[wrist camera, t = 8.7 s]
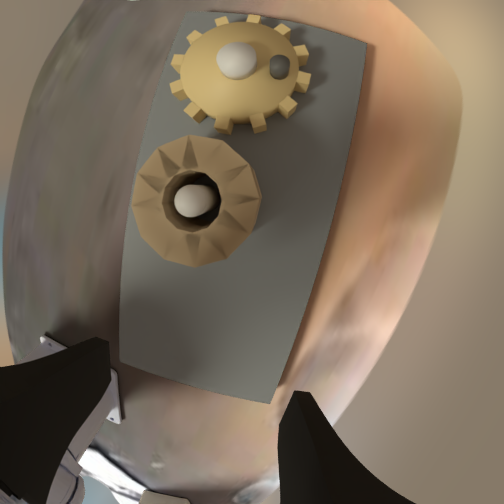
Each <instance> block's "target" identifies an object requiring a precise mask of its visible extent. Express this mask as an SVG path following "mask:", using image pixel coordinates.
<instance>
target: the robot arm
mask: <svg viewBox="0 0 504 504" xmlns="http://www.w3.org/2000/svg"><path fill="white" fill-rule="evenodd" d="M40 339H41V344H40V345H39V346H38V347H36V348H35V349H34V350H33V351H31V352H30V353H29V354H28V355H26V356H25V357H24V358H23V359H22V360H20V361H19V362H18V363H17V364H15V365H11V366H5V367H0V504H82V502H83V499H84V495H85V488H84V481H83V479H82V477H81V476H80V475H79V473H80V472H81V470H82V467H81V466H80V465H79V464H78V462H79V460H80V459H81V457H82V455H83V454H84V452H85V451H86V449H87V448H88V446H89V444H90V443H91V441H92V440H93V438H94V437H95V435H96V434H97V432H98V430H99V429H100V427H101V426H102V424H103V423H104V421H105V420H106V419H108V420H110V421H112V422H115V423H117V424H120V423H121V422H122V419H121V411H120V402H119V392H118V380H117V373H116V371H114V370H113V369H111V368H110V355H109V342H107V341H105V340H102V339H100V338H97V337H95V338H92V339H89V340H86V341H84V342H81V343H79V344H76V345H74V346H71V347H69V348H67V347H65V346H63V345H61V344H59V343H57V342H55V341H54V340H52V339H50V338H48V337H47V336H45V335H42V336H41V337H40ZM278 463H279V478H280V504H415V503H413V502H412V501H410V500H408V499H406V498H405V497H403V496H401V495H400V494H398V493H397V492H395V491H393V490H392V489H391V488H389V487H388V486H387V485H385V484H384V483H383V482H381V481H380V480H379V479H377V478H376V477H375V476H374V475H373V474H372V473H371V472H370V471H369V470H367V469H366V468H365V467H364V466H363V465H362V464H361V463H360V462H359V461H358V460H357V458H356V457H355V456H354V455H353V454H352V453H351V452H350V451H349V449H348V448H347V447H346V446H345V444H344V443H343V442H342V440H341V439H340V438H339V437H338V435H337V434H336V432H335V431H334V429H333V428H332V426H331V425H330V423H329V422H328V420H327V419H326V417H325V416H324V414H323V412H322V411H321V409H320V408H319V406H318V404H317V403H316V401H315V399H314V398H313V396H312V395H311V393H310V392H303V391H295V390H294V392H293V395H292V397H291V399H290V402H289V404H288V406H287V408H286V411H285V413H284V415H283V417H282V419H281V422H280V424H279V433H278Z"/></svg>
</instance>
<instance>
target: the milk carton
mask: <svg viewBox="0 0 504 504" xmlns="http://www.w3.org/2000/svg"><path fill="white" fill-rule="evenodd" d="M139 504H190V502H189V501H188V500H187V499H184V498H179V497H173V496H168V495H163V494H159V493H154V492H150V491H146V490H144V491H143V494H142V496H141V499H140V501H139Z"/></svg>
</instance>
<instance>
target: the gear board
mask: <svg viewBox="0 0 504 504" xmlns="http://www.w3.org/2000/svg"><path fill="white" fill-rule="evenodd" d="M366 49H367V43H364V42H362V41H359V40H356V39H353V38H350V37H347V36H344V35H341V34H338V33H334V32H331V31H328V30H324V29H320V28H317V27H313V26H309V25H304V24H300V23H295V22H291V21H286V20H280V19H275V18H268V17H262V16H259V15H252V14H249V15H246V14H236V13H222V12H186V14H185V16H184V18H183V21H182V23H181V25H180V27H179V30H178V32H177V34H176V37H175V39H174V42H173V44H172V47H171V49H170V52H169V55H168V57H167V60H166V63H165V65H164V68H163V71H162V74H161V77H160V80H159V83H158V86H157V89H156V92H155V95H154V99H153V102H152V105H151V109H150V112H149V116H148V119H147V123H146V127H145V131H144V135H143V139H142V143H141V147H140V151H139V156H138V160H137V165H136V170H135V175H134V180H133V186H132V191H131V197H130V203H129V210H128V216H127V224H126V231H125V240H124V249H123V259H122V271H121V286H120V309H119V355H120V362H122V363H125V364H127V365H130V366H132V367H135V368H138V369H140V370H143V371H146V372H149V373H152V374H155V375H157V376H160V377H163V378H166V379H170V380H173V381H176V382H179V383H182V384H186V385H189V386H193V387H196V388H200V389H204V390H207V391H211V392H215V393H219V394H223V395H228V396H232V397H236V398H241V399H246V400H251V401H256V402H261V403H267V404H270V403H271V400H272V398H273V395H274V393H275V390H276V388H277V385H278V383H279V380H280V378H281V375H282V373H283V370H284V368H285V365H286V362H287V360H288V357H289V354H290V352H291V349H292V346H293V343H294V341H295V338H296V335H297V332H298V329H299V327H300V324H301V321H302V318H303V315H304V312H305V309H306V306H307V303H308V300H309V297H310V294H311V291H312V288H313V285H314V281H315V278H316V275H317V272H318V268H319V265H320V262H321V258H322V255H323V252H324V248H325V245H326V241H327V238H328V234H329V230H330V227H331V223H332V219H333V216H334V212H335V208H336V204H337V200H338V196H339V192H340V188H341V184H342V180H343V176H344V171H345V167H346V162H347V158H348V153H349V149H350V144H351V139H352V134H353V129H354V124H355V119H356V113H357V108H358V102H359V96H360V90H361V84H362V78H363V71H364V64H365V56H366ZM187 135H195V136H201V137H207V138H213V139H218V140H223V141H224V142H225V143H226V144H228V145H229V146H230V147H231V148H232V149H233V150H234V151H235V152H237V153H238V154H239V155H240V156H241V157H242V158H243V159H244V160H245V161H247V162H248V163H249V164H250V166H251V167H252V168H253V169H254V171H255V174H256V178H257V181H258V184H259V188H260V191H261V194H262V199H261V203H260V207H259V211H258V215H257V219H256V223H255V225H254V228H253V230H252V233H251V234H250V235H249V236H248V237H247V238H246V239H245V241H244V242H243V243H242V244H241V245H240V246H239V247H238V248H237V249H236V250H235V251H234V252H233V253H232V254H231V255H230V256H229V257H228V258H227V259H224V260H221V261H217V262H214V263H210V264H206V265H203V266H199V267H196V268H194V267H191V266H187V265H183V264H179V263H176V262H172V261H168V260H165V259H163V258H162V257H161V256H160V255H159V254H158V253H157V252H156V251H155V250H154V249H153V248H152V247H151V246H150V245H149V244H148V243H147V242H146V241H145V240H144V239H143V238H142V237H141V236H140V232H139V229H138V226H137V223H136V220H135V217H134V213H133V210H132V207H131V204H132V198H133V192H134V187H135V181H136V176H137V173H138V171H139V170H140V169H141V167H142V166H143V165H144V164H145V162H146V161H147V160H148V159H149V157H150V156H151V155H152V154H153V152H154V151H155V150H156V149H157V147H159V146H162V145H164V144H166V143H169V142H171V141H174V140H176V139H179V138H181V137H184V136H187ZM174 202H175V207H176V209H177V211H178V212H179V213H180V214H181V215H183V216H186V217H195V216H197V217H198V218H199V219H202V220H207V221H211V222H212V221H214V220H215V219H216V218H217V217H218V215H219V211H220V206H221V202H222V198H221V195H220V192H219V188H218V185H217V183H216V182H215V181H213V180H212V179H211V178H210V177H209V176H208V175H206V176H203V177H200V178H198V179H197V180H196V181H195V182H194V184H193V185H186V186H184V187H182V188H181V189H179V190H178V192H177V194H176V196H175V200H174Z"/></svg>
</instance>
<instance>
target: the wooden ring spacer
mask: <svg viewBox="0 0 504 504" xmlns="http://www.w3.org/2000/svg"><path fill="white" fill-rule="evenodd" d="M206 175H208V176H209V177H210V178H211V179H212V180H213V181H215V182H216V183H217V185H218V188H219V192H220V195H221V198H222V202H221V206H220V211H219V215H218V217H217V218H216V219H215V220H214V221H212V222H211V221H207V220H202V219H199V218H198V217H197V216H195V217H186V216H183V215H181V214H180V213H179V212H178V211H177V209H176V207H175V202H174V200H175V196H176V194H177V192H178V190H179V189H181V188H182V187H184V186H186V185H193V184H194V182H195V181H196V180H197V179H198V178H200V177H203V176H206ZM261 199H262V194H261V191H260V188H259V184H258V181H257V178H256V174H255V171H254V169H253V168H252V167H251V166H250V164H249V163H248V162H247V161H245V160H244V159H243V158H242V157H241V156H240V155H239V154H238V153H237V152H235V151H234V150H233V149H232V148H231V147H230V146H229V145H228V144H226V143H225V142H224V141H223V140H218V139H213V138H207V137H201V136H195V135H187V136H184V137H181V138H179V139H176V140H174V141H171V142H169V143H166V144H164V145H162V146H159V147H157V149H156V150H155V151H154V152H153V154H152V155H151V156H150V157H149V159H148V160H147V161H146V162H145V164H144V165H143V166H142V167H141V169H140V170H139V171H138V173H137V176H136V181H135V187H134V192H133V198H132V204H131V207H132V210H133V213H134V217H135V220H136V223H137V226H138V229H139V232H140V236H141V237H142V238H143V239H144V240H145V241H146V242H147V243H148V244H149V245H150V246H151V247H152V248H153V249H154V250H155V251H156V252H157V253H158V254H159V255H160V256H161V257H162V258H163V259H165V260H168V261H172V262H176V263H179V264H183V265H187V266H191V267H194V268H196V267H199V266H203V265H206V264H210V263H214V262H217V261H221V260H224V259H227V258H228V257H229V256H230V255H231V254H232V253H233V252H234V251H235V250H236V249H237V248H238V247H239V246H240V245H241V244H242V243H243V242H244V241H245V239H246V238H247V237H248V236H249V235H250V234H251V233H252V230H253V228H254V225H255V223H256V219H257V215H258V211H259V207H260V203H261Z"/></svg>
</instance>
